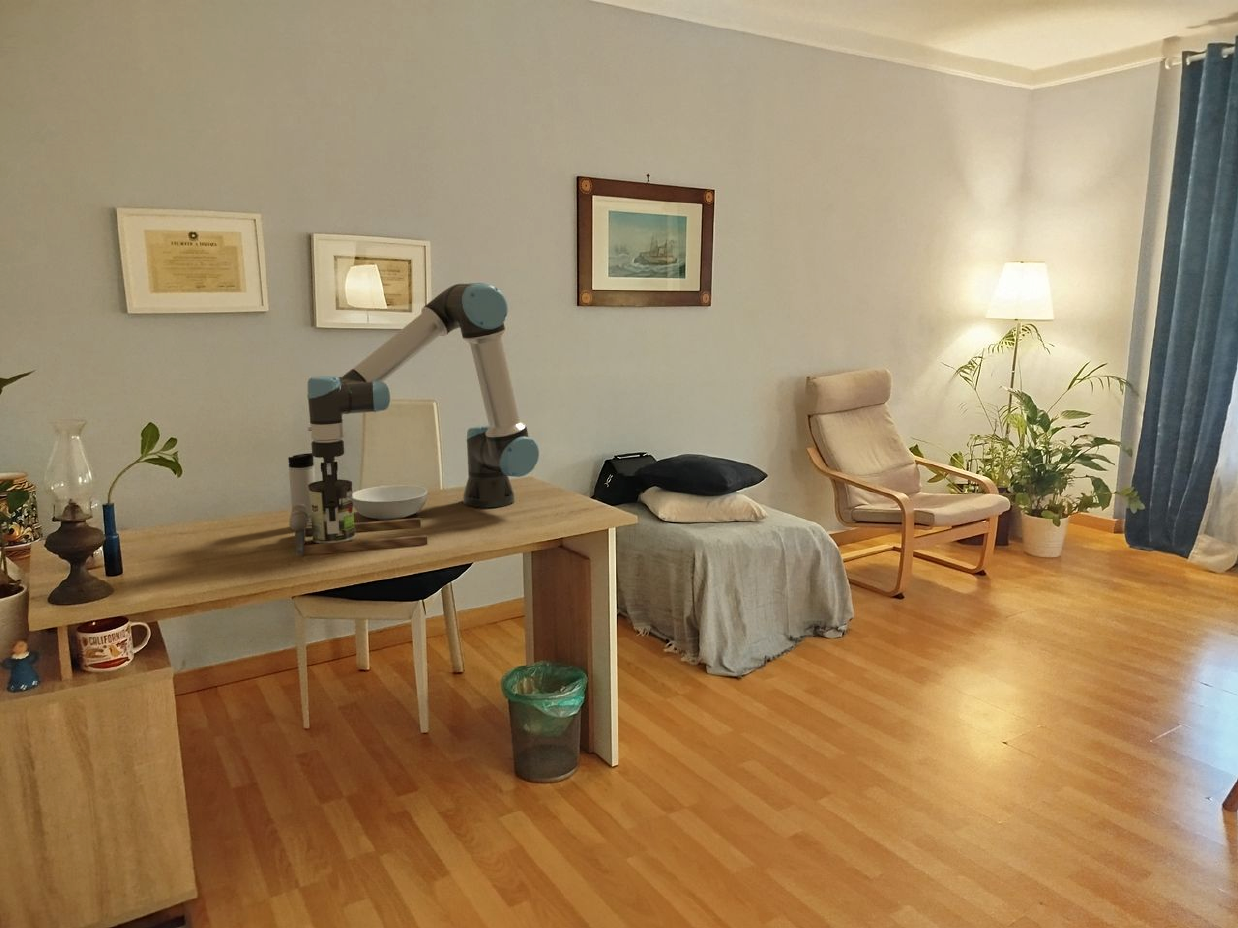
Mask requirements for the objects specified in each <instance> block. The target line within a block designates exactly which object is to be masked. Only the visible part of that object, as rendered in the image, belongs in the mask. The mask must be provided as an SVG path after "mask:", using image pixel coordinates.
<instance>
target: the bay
mask: <svg viewBox="0 0 1238 928" xmlns="http://www.w3.org/2000/svg"><path fill="white" fill-rule="evenodd" d="M307 520H308V508H307V506H305V505H304V504H297V505H295V506H294V507H293V508H292V507H291V513H290V516H289V528H290V529H291V530H292V531H294V543H295V555H296V557H299V556H300V557H301V556H309V555H320V554H332V553H333V554H334V553H343V552H345V553H346V552H352V551H353V552H357V551H368V550H369V551H370V550H378V549H379V550H380V549H388V548H390V549H391V548H401V547H403V548H404V547H412V546H413V545H415V546H423V544H427V545H428V535H427V534H421V535H411V536H410V535H409V536H399V537H398V536H397V537H389V538H388V537H385V538H376V539H364V540H363V539H362V540H350V541H347V542H338V543H326V544H320V543H315V544H305V541H306V537H309V536H311V537H312V536H313V533H312V526H310V527H306V526H307ZM421 523H422V521H421V518H420V517H418V518H417V517H414V518H401V519H396V520H378V521H376V520H375V521H365V522H362V521H361V522H354V527H355V533H358V531H360V532H369V531H370V532H371V531H373V532H374V531H383V530H385V531H386V530H395V529H408V528H421V527H422V525H421ZM413 547H414V546H413Z"/></svg>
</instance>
